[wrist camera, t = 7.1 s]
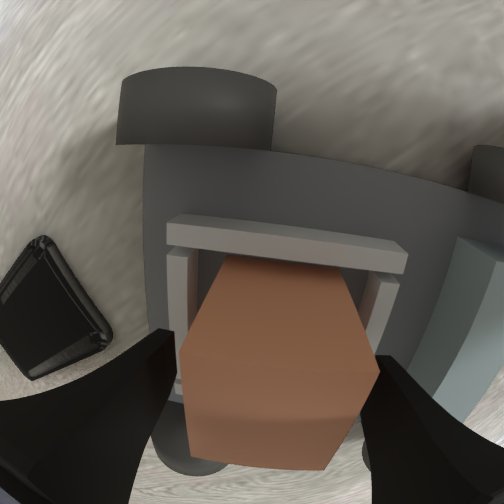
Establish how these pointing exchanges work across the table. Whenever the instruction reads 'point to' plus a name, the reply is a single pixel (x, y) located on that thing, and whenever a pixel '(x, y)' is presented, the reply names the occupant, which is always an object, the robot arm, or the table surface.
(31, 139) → the table surface
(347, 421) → the block
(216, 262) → the chassis
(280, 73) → the table surface
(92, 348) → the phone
